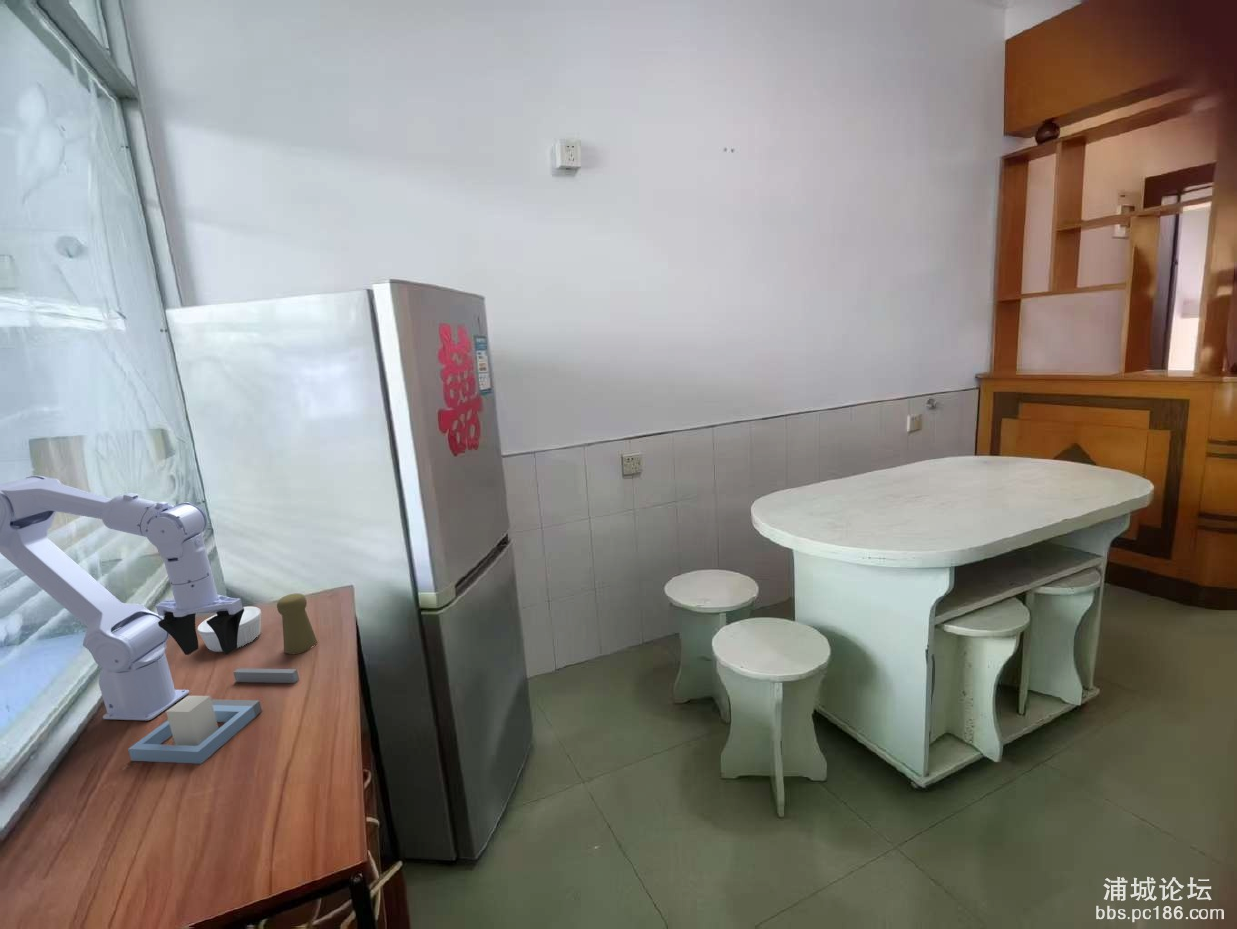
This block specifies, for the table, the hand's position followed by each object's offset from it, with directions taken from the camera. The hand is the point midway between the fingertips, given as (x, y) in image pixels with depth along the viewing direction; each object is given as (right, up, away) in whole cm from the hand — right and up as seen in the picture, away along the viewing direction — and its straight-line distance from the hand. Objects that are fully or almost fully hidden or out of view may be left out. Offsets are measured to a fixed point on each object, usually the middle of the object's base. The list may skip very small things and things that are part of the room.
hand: (211, 651), depth 99 cm
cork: (+5, -5, +19) cm, 20 cm away
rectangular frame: (+4, -10, -2) cm, 11 cm away
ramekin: (-12, -6, +24) cm, 27 cm away
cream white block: (+3, -11, -7) cm, 14 cm away
